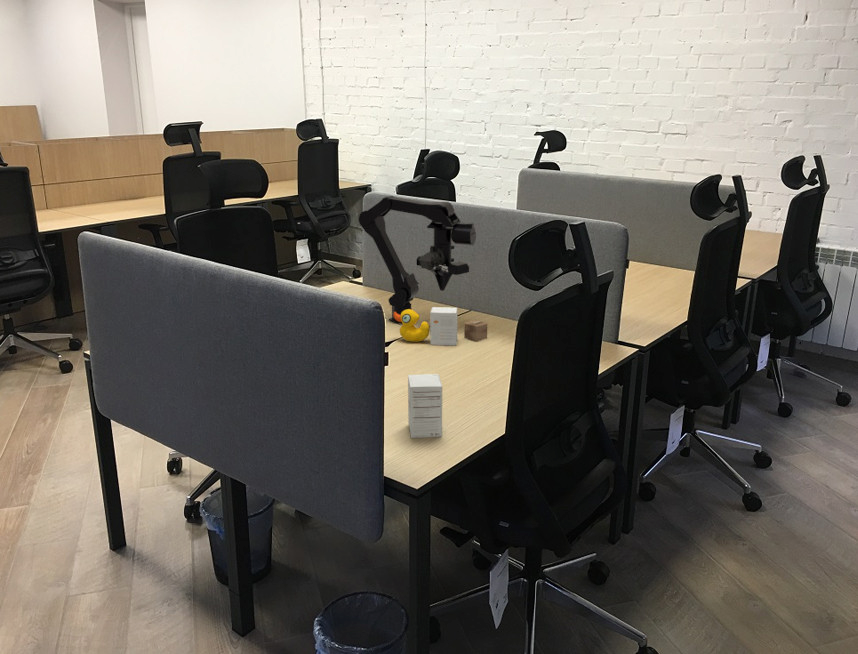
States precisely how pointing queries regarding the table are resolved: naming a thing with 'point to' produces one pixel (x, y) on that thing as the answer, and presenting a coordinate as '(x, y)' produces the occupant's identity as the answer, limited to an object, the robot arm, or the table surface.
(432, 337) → the small box
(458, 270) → the robot arm
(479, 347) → the table surface
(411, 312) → the duckling
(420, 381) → the supplement box
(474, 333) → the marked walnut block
